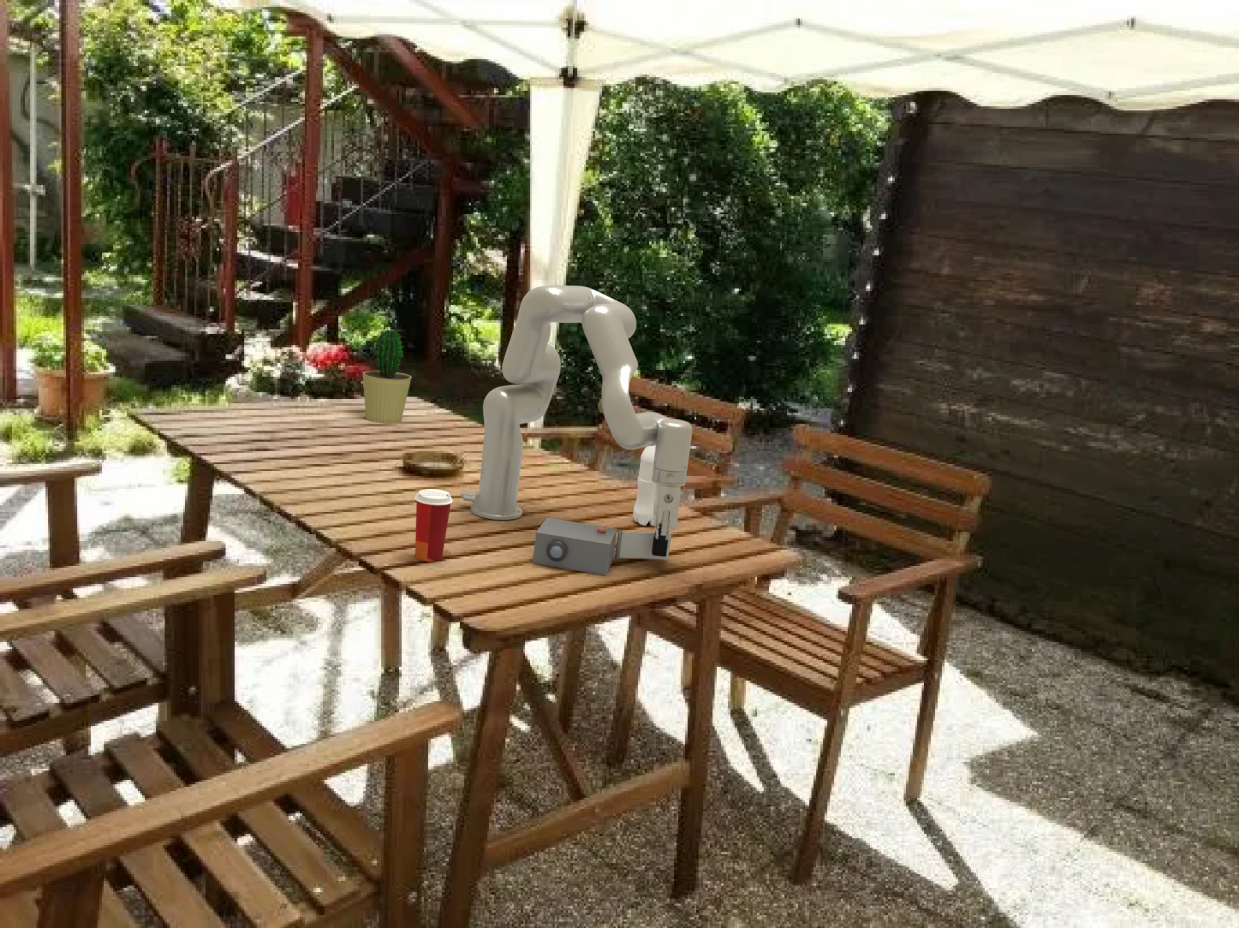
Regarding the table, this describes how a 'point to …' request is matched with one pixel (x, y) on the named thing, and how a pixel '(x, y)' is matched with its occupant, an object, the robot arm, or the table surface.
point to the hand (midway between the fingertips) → (658, 554)
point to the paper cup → (431, 523)
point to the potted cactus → (386, 382)
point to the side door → (637, 545)
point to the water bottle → (645, 489)
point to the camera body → (574, 546)
